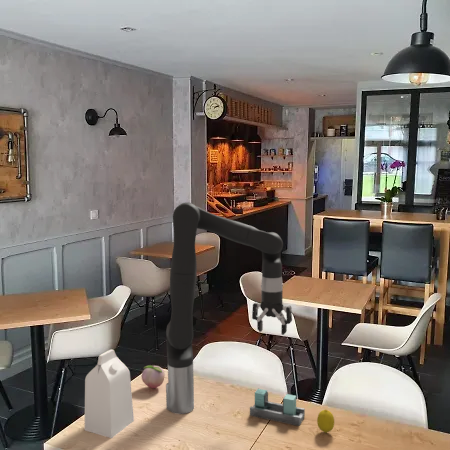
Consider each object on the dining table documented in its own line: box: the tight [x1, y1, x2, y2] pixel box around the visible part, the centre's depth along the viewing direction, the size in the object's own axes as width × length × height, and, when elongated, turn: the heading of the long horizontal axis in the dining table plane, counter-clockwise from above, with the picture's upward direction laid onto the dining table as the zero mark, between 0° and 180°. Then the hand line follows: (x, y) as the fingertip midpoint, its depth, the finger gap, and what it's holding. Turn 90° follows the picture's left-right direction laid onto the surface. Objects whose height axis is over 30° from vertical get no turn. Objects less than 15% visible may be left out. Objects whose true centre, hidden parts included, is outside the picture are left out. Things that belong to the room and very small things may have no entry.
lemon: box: [316, 409, 335, 434], centre depth 160 cm, size 6×6×8 cm
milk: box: [84, 349, 135, 439], centre depth 165 cm, size 12×12×26 cm
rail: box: [249, 388, 306, 427], centre depth 171 cm, size 18×7×8 cm, turn 66°
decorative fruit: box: [141, 365, 166, 389], centre depth 193 cm, size 9×8×10 cm
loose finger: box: [282, 393, 297, 415], centre depth 169 cm, size 4×4×7 cm
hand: (271, 332), depth 175 cm, fingers open, 8 cm apart
